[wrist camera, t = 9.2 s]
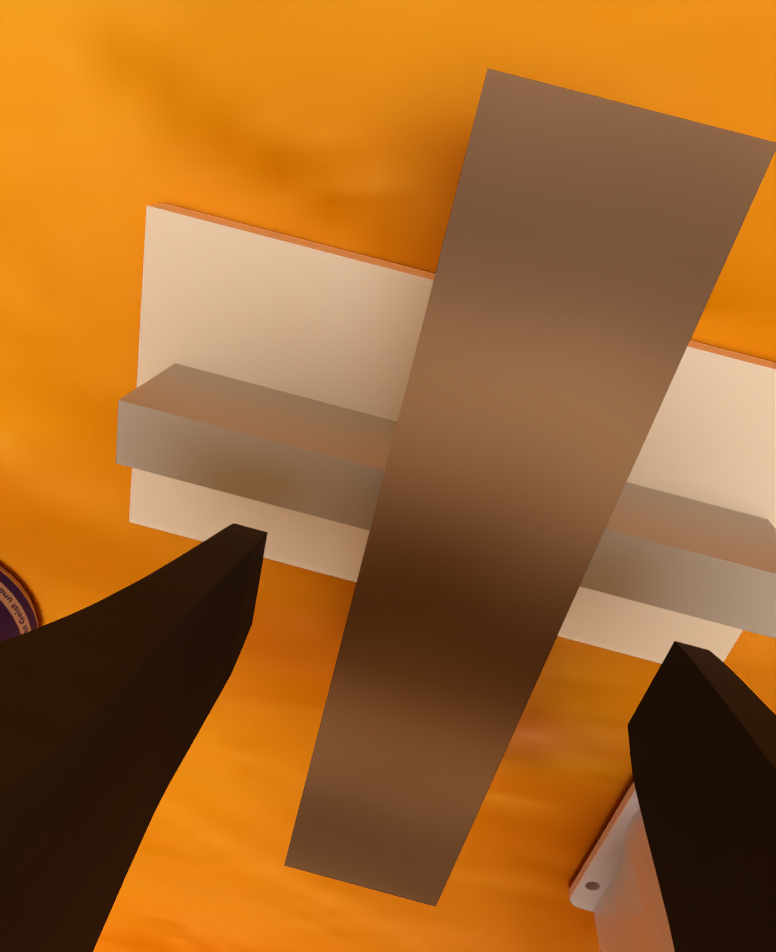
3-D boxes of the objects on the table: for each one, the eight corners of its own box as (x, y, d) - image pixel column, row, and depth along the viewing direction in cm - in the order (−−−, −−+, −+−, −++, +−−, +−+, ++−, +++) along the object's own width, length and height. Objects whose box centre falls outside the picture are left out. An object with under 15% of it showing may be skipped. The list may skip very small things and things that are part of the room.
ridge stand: (703, 654, 20) (752, 760, 17) (144, 506, 20) (73, 579, 17) (862, 384, 16) (973, 448, 13) (164, 203, 16) (76, 213, 13)
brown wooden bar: (484, 97, 11) (487, 68, 8) (690, 149, 11) (778, 142, 8) (318, 741, 18) (284, 865, 15) (443, 774, 18) (435, 906, 15)
